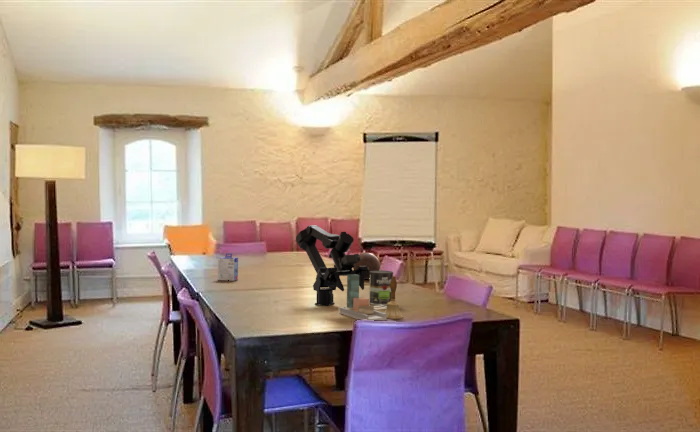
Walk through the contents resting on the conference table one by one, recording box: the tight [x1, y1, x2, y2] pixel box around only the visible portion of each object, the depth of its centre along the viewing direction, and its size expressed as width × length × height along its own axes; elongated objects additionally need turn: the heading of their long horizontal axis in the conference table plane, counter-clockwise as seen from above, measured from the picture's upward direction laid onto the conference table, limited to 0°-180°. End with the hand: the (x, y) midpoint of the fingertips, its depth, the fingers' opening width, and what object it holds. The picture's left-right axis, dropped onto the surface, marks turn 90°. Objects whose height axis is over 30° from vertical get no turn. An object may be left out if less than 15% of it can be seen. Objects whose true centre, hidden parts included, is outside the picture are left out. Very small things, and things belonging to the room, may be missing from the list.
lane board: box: [338, 305, 387, 321], centre depth 267 cm, size 20×19×2 cm
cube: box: [353, 296, 370, 311], centre depth 265 cm, size 4×4×4 cm
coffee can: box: [368, 270, 394, 306], centre depth 296 cm, size 10×10×14 cm
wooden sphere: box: [352, 252, 381, 280], centre depth 379 cm, size 15×15×15 cm
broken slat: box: [373, 305, 386, 312], centre depth 273 cm, size 8×6×1 cm
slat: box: [343, 274, 375, 315], centre depth 267 cm, size 12×6×14 cm, turn 30°
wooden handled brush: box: [385, 275, 404, 320], centre depth 265 cm, size 8×8×16 cm
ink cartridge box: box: [217, 252, 239, 282], centre depth 368 cm, size 10×6×14 cm, turn 77°
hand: (353, 289), depth 270 cm, fingers open, 9 cm apart
